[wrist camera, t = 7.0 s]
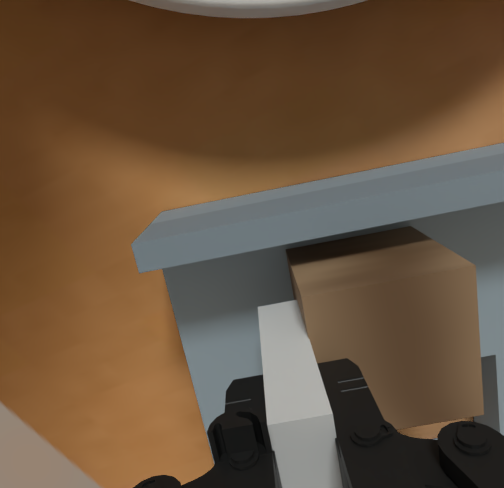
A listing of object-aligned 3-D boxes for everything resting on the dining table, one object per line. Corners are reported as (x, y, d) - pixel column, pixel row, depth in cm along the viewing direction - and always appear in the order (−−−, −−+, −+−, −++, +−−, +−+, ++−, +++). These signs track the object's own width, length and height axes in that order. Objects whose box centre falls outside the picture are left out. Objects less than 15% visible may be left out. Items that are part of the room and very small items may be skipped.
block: (304, 360, 19) (326, 442, 14) (285, 249, 17) (301, 297, 13) (421, 339, 19) (483, 414, 14) (410, 225, 17) (475, 265, 12)
